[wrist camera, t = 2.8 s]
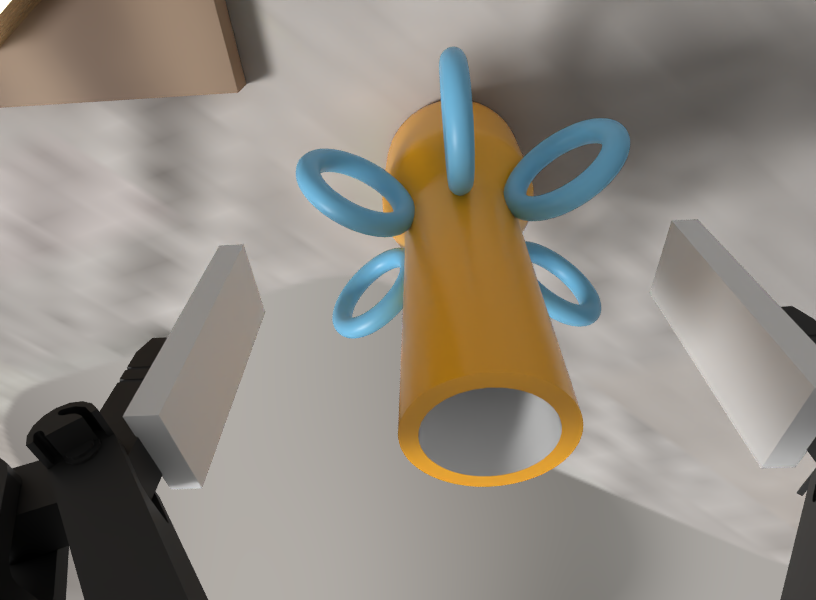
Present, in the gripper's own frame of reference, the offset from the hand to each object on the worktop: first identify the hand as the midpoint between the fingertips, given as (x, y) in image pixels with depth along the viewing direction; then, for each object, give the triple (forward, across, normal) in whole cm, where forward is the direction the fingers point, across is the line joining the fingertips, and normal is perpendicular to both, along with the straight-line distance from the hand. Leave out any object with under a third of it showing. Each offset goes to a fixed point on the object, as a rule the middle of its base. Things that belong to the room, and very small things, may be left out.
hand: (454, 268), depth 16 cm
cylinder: (+9, 0, 0) cm, 9 cm away
